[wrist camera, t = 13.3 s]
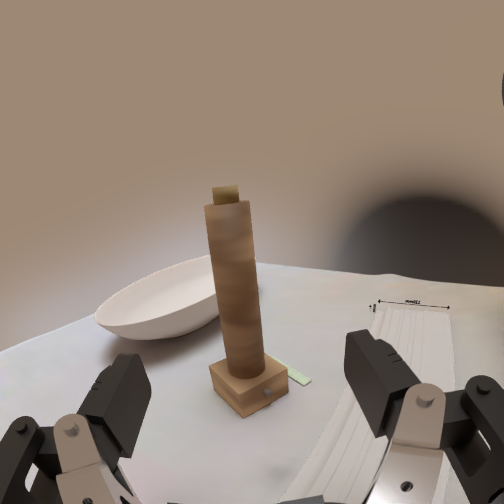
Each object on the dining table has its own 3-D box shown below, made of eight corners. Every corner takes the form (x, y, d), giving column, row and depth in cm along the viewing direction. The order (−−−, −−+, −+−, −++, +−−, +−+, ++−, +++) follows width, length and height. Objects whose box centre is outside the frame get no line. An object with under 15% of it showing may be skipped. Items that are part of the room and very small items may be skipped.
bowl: (213, 278, 56) (209, 249, 55) (282, 286, 49) (279, 252, 47) (87, 348, 31) (73, 309, 30) (155, 392, 24) (137, 342, 22)
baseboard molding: (242, 518, 11) (417, 559, 5) (236, 504, 10) (436, 550, 4) (366, 314, 36) (446, 322, 30) (368, 295, 35) (450, 303, 29)
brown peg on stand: (255, 368, 27) (235, 184, 22) (291, 394, 23) (279, 181, 18) (214, 389, 24) (178, 192, 20) (246, 420, 20) (212, 188, 15)
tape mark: (271, 356, 29) (271, 355, 29) (311, 381, 24) (311, 380, 24) (264, 360, 28) (264, 359, 28) (303, 386, 24) (303, 385, 23)
